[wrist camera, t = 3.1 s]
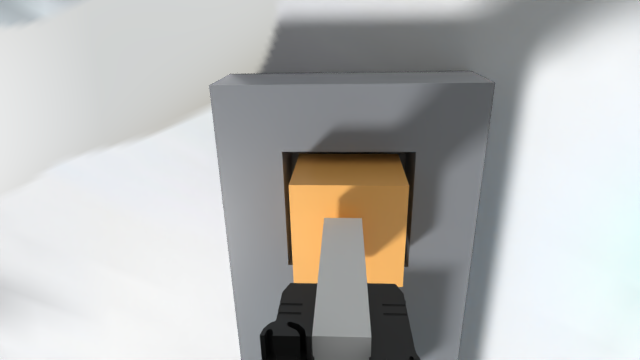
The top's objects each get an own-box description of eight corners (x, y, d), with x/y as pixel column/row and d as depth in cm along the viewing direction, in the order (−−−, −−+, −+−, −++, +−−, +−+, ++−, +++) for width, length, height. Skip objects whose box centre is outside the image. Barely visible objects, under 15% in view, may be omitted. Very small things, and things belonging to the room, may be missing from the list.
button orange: (302, 239, 22) (293, 284, 19) (299, 153, 21) (288, 185, 17) (393, 240, 22) (402, 286, 18) (398, 153, 20) (409, 185, 17)
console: (267, 452, 32) (257, 502, 29) (230, 73, 21) (209, 85, 18) (428, 460, 31) (437, 512, 28) (471, 71, 21) (494, 82, 17)
